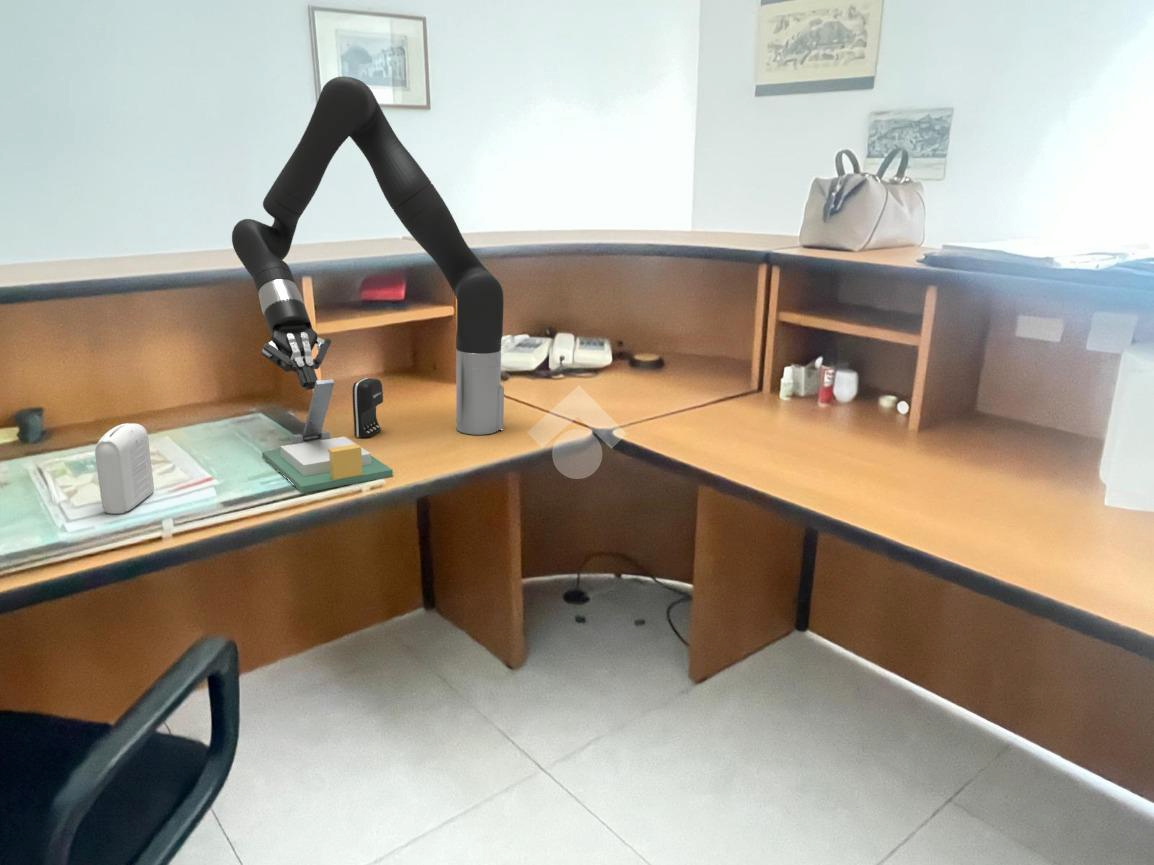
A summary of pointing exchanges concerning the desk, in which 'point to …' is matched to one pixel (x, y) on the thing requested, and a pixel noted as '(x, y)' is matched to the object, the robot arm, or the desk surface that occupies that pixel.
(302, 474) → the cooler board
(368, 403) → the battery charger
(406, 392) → the desk surface
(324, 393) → the gray flat bar
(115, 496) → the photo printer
